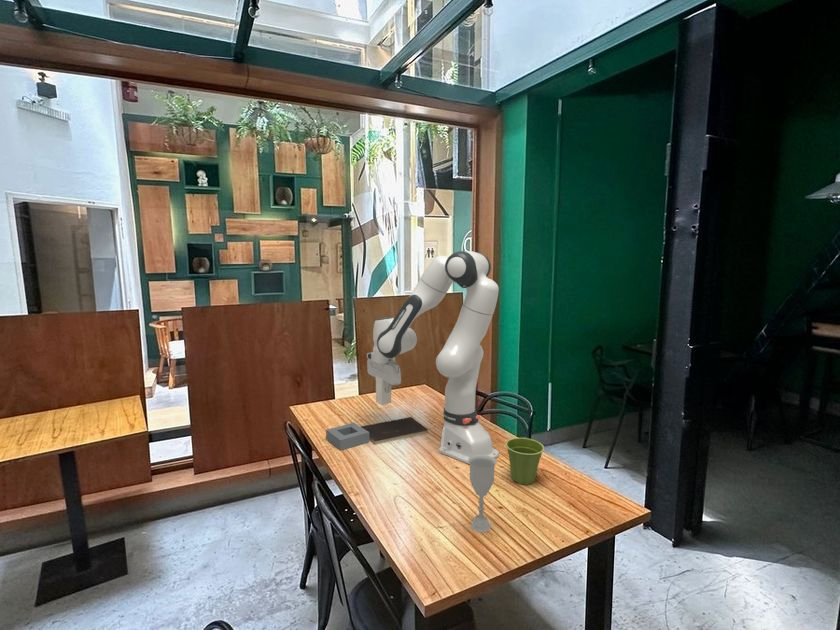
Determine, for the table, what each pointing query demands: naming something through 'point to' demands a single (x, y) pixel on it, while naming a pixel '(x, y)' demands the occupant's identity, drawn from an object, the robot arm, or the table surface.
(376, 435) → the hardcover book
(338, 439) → the holder
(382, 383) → the cream block
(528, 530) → the table surface
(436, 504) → the table surface
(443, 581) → the table surface
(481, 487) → the chalice
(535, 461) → the plant pot
